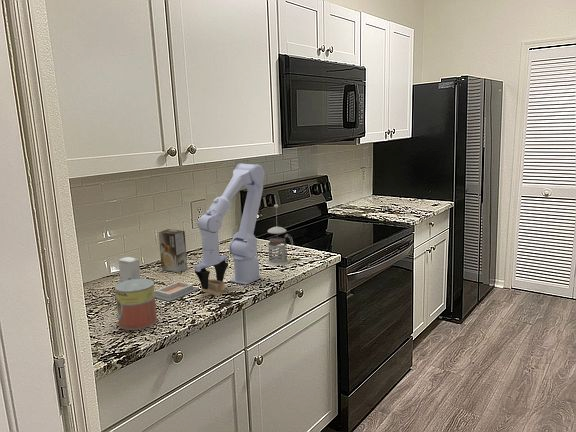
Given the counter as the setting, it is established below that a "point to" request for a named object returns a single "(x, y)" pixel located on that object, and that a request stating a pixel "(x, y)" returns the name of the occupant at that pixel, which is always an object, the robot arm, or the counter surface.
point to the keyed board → (174, 291)
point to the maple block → (214, 287)
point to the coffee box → (173, 250)
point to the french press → (280, 258)
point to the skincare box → (129, 268)
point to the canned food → (136, 303)
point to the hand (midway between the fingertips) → (212, 285)
